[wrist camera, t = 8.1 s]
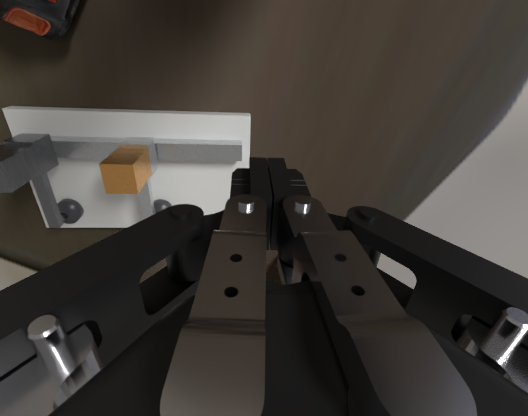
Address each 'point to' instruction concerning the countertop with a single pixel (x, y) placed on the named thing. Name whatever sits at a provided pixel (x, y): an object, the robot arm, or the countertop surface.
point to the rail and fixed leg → (52, 147)
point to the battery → (40, 15)
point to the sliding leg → (132, 170)
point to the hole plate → (162, 182)
